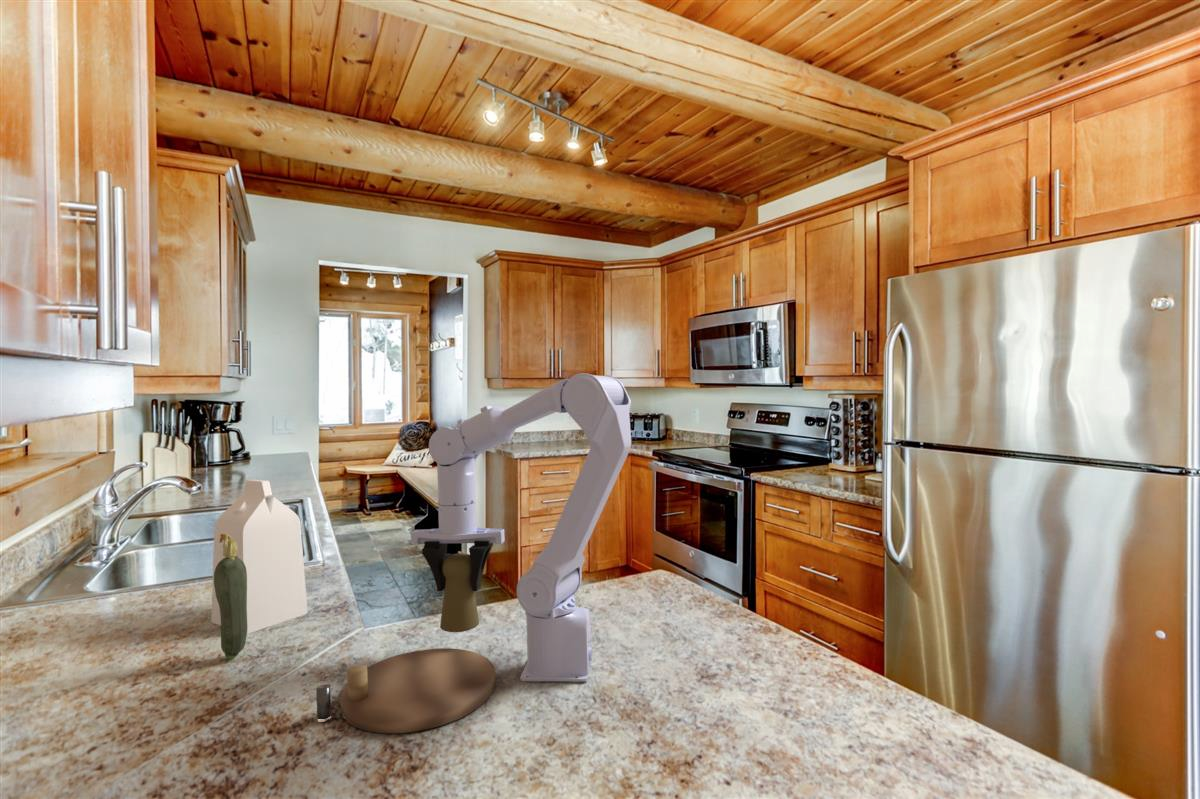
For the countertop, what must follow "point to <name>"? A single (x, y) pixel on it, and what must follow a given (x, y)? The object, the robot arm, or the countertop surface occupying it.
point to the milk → (264, 556)
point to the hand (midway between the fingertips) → (459, 589)
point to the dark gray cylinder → (323, 701)
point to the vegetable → (231, 598)
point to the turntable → (416, 690)
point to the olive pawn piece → (458, 595)
